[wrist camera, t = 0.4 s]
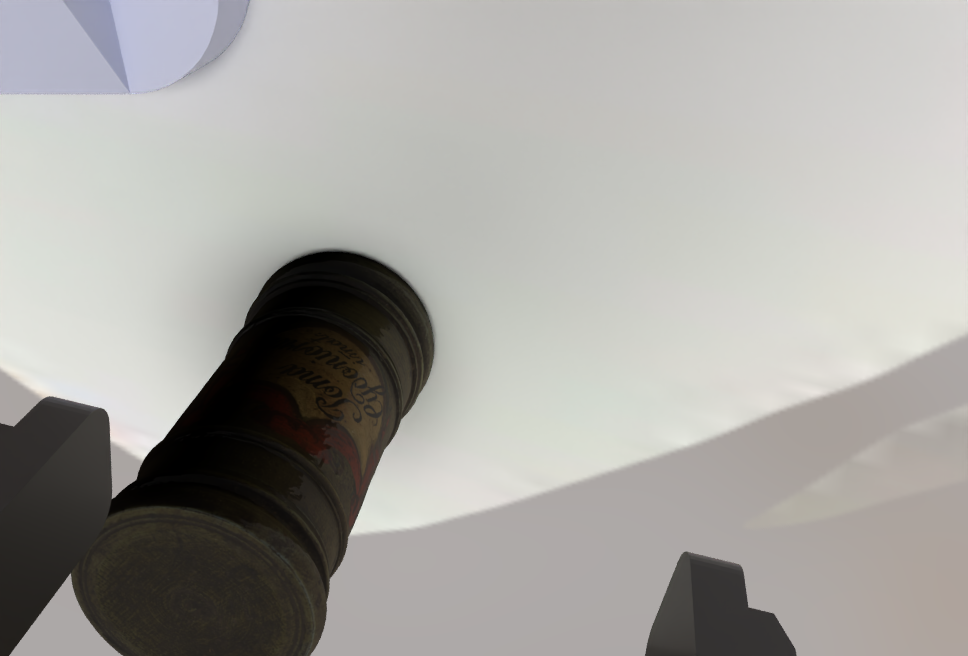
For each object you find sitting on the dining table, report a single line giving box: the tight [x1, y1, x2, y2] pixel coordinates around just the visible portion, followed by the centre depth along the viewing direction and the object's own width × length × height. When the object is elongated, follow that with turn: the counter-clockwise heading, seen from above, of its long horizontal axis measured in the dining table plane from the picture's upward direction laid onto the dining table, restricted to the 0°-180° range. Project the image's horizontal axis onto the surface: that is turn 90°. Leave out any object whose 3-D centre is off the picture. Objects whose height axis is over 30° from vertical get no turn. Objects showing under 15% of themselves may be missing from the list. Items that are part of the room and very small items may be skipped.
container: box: [71, 252, 434, 656], centre depth 37 cm, size 9×9×18 cm
